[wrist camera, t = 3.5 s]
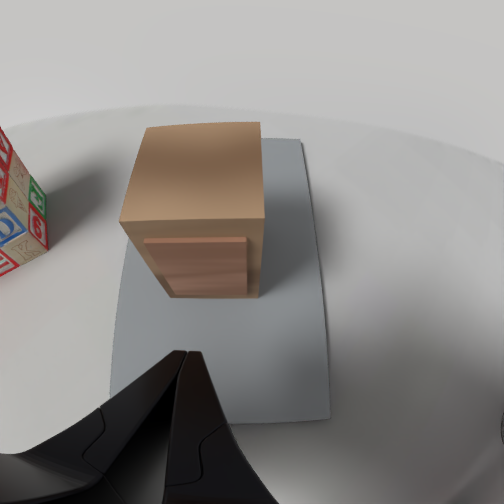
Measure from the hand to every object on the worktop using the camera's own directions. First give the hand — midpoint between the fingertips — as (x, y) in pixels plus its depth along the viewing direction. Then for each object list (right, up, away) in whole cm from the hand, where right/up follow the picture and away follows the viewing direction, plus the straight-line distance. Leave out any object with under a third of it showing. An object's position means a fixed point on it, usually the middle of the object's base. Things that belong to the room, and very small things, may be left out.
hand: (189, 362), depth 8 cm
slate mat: (0, +3, +10) cm, 11 cm away
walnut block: (0, +3, +10) cm, 10 cm away
